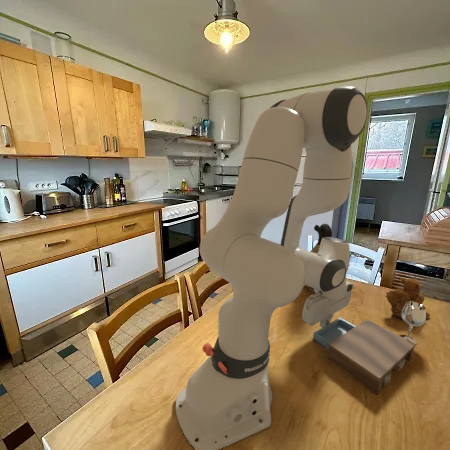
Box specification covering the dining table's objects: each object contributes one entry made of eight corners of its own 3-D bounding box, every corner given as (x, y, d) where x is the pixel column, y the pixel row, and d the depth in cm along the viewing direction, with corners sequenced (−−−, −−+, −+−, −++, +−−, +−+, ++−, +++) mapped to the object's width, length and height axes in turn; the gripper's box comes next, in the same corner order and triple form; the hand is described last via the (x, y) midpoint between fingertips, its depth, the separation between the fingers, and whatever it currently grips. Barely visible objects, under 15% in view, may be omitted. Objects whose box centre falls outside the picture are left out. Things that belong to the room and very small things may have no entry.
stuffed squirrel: (431, 317, 86) (439, 283, 83) (405, 327, 81) (413, 291, 77) (402, 302, 95) (408, 272, 91) (377, 310, 90) (383, 278, 86)
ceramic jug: (296, 280, 112) (301, 217, 105) (329, 281, 112) (337, 218, 104) (306, 300, 96) (314, 227, 88) (346, 301, 95) (356, 228, 88)
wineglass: (423, 348, 71) (432, 312, 68) (401, 345, 72) (409, 310, 69) (413, 334, 77) (420, 301, 74) (393, 332, 78) (400, 299, 75)
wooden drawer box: (376, 395, 56) (379, 378, 55) (326, 359, 67) (328, 343, 66) (412, 359, 67) (415, 344, 66) (364, 332, 78) (367, 319, 76)
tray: (374, 382, 60) (376, 374, 59) (313, 339, 74) (313, 332, 74) (399, 358, 67) (400, 350, 67) (339, 323, 82) (339, 317, 81)
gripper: (317, 302, 67) (312, 344, 70) (356, 283, 78) (351, 320, 81) (299, 292, 72) (295, 332, 75) (338, 275, 83) (333, 310, 86)
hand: (324, 325), depth 78 cm, fingers closed, pressing on tray
